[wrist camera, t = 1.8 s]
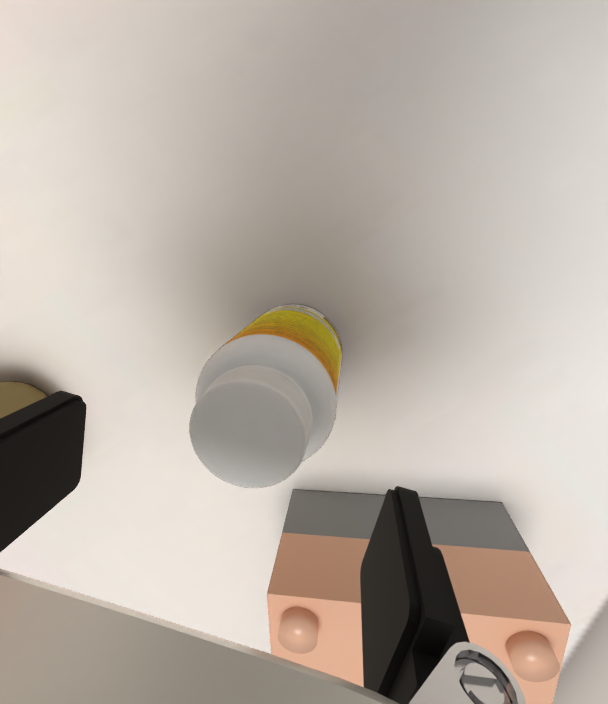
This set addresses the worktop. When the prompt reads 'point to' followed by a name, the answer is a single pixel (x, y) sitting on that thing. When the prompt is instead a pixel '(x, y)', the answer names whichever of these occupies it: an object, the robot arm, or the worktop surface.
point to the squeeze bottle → (17, 396)
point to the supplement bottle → (268, 397)
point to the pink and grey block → (463, 568)
